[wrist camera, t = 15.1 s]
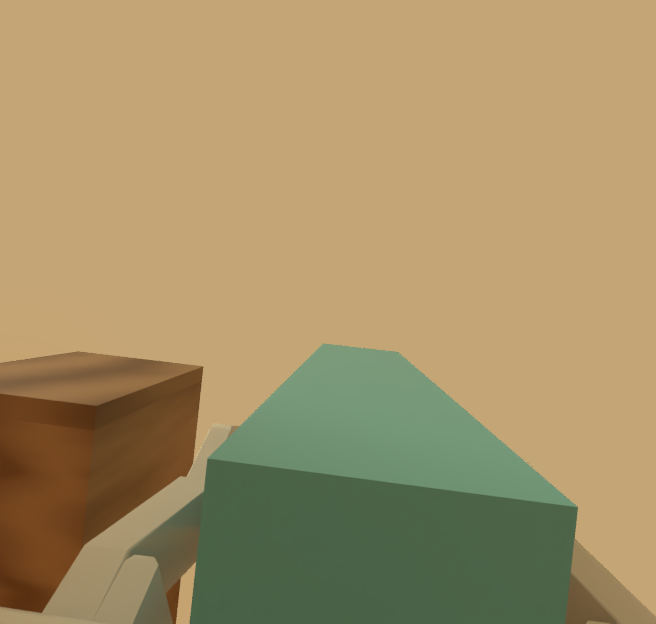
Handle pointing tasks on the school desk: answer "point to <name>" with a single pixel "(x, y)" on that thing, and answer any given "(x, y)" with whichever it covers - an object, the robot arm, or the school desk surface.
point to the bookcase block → (84, 458)
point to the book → (376, 509)
